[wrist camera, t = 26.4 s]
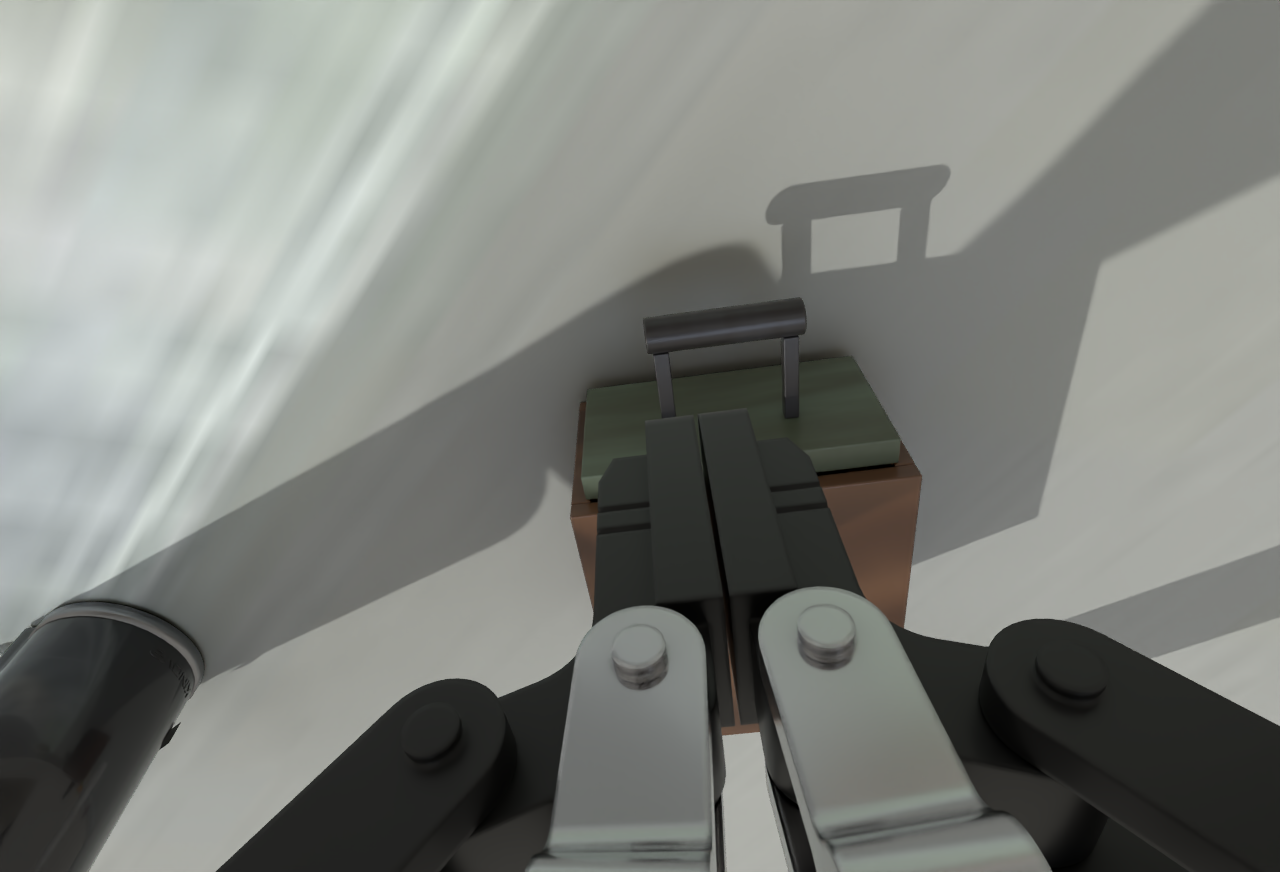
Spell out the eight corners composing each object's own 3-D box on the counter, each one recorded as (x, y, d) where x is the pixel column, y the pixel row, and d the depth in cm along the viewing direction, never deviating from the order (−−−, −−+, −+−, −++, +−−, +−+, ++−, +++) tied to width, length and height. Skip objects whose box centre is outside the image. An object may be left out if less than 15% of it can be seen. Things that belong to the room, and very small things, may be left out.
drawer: (566, 287, 30) (554, 362, 25) (857, 248, 30) (913, 316, 24) (629, 600, 41) (631, 702, 36) (842, 576, 41) (878, 676, 35)
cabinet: (579, 401, 35) (569, 517, 27) (858, 366, 34) (923, 475, 27) (624, 616, 43) (626, 745, 36) (847, 591, 43) (893, 719, 35)
